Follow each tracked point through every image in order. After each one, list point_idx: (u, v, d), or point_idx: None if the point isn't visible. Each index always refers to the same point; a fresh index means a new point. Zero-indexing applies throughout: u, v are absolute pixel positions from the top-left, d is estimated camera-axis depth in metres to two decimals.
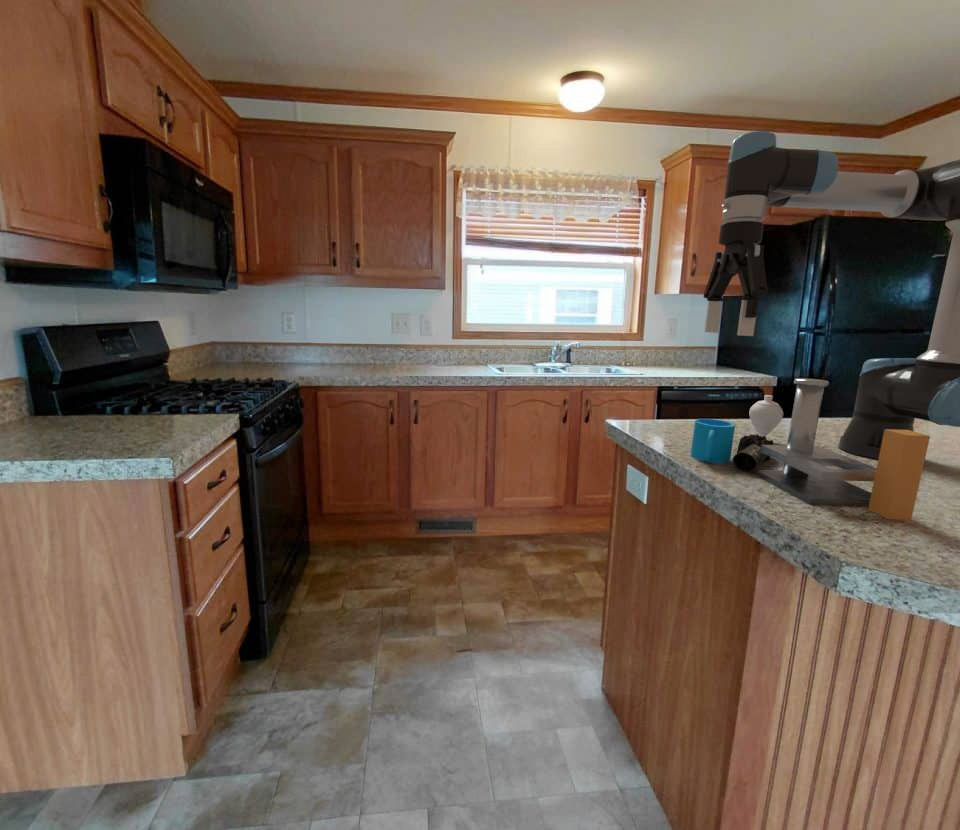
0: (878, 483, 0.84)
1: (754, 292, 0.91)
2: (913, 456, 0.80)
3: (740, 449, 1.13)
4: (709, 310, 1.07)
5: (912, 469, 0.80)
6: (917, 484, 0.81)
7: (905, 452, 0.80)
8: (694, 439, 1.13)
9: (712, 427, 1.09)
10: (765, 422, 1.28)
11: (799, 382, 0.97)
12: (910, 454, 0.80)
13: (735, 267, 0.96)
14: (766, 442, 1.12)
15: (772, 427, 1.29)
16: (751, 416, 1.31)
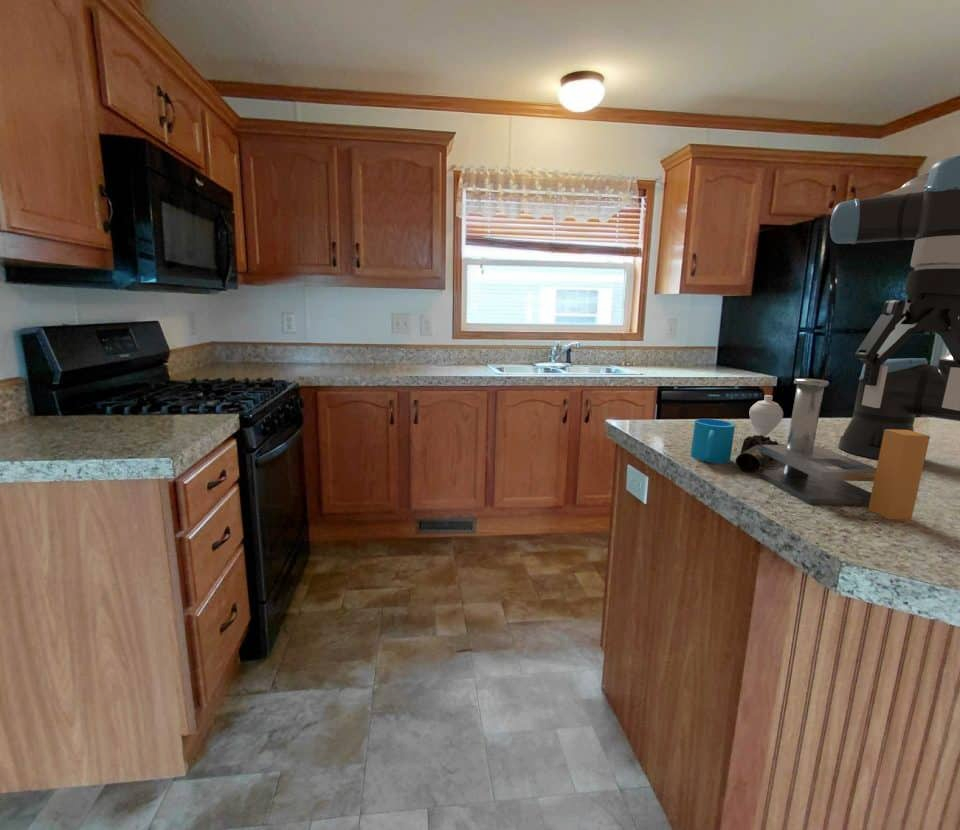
0: (878, 483, 0.84)
1: (854, 355, 0.79)
2: (913, 456, 0.80)
3: (744, 450, 1.13)
4: (949, 379, 0.81)
5: (912, 469, 0.80)
6: (917, 484, 0.81)
7: (905, 452, 0.80)
8: (694, 439, 1.13)
9: (712, 427, 1.09)
10: (765, 422, 1.28)
11: (799, 382, 0.97)
12: (910, 454, 0.80)
13: None
14: (770, 443, 1.12)
15: (772, 427, 1.29)
16: (751, 416, 1.31)
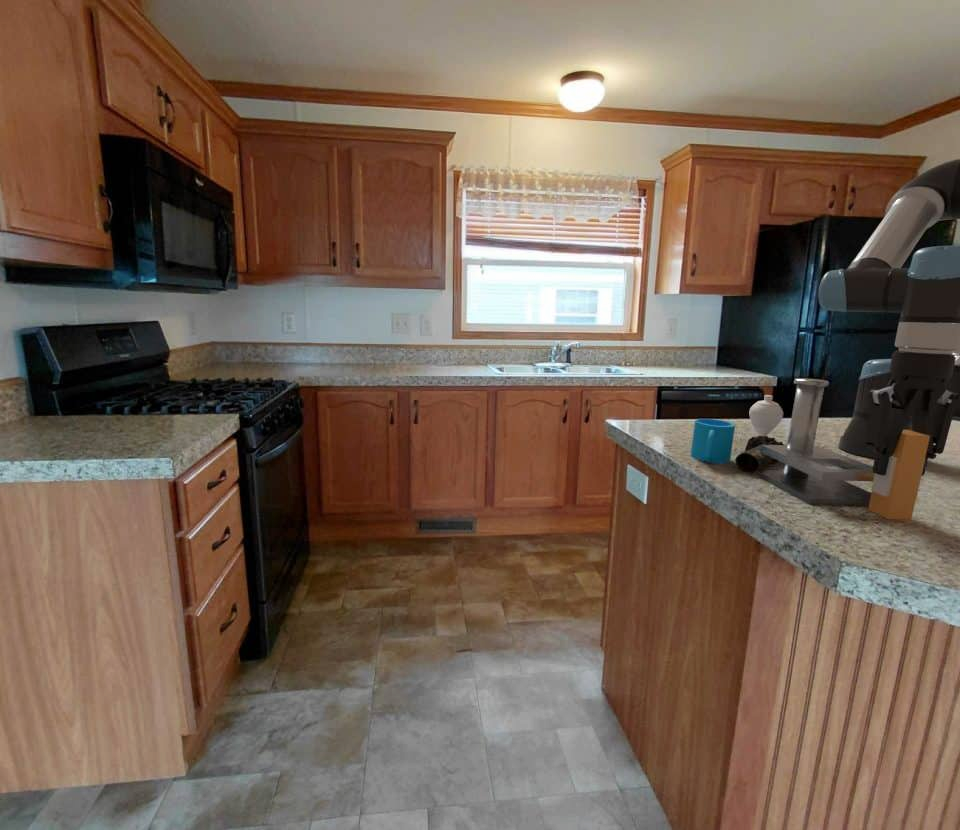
0: None
1: (865, 446, 0.83)
2: (912, 456, 0.80)
3: (747, 450, 1.13)
4: None
5: (912, 469, 0.80)
6: (917, 484, 0.81)
7: (905, 452, 0.80)
8: (694, 439, 1.13)
9: (712, 427, 1.09)
10: (765, 422, 1.28)
11: (799, 382, 0.97)
12: (910, 454, 0.80)
13: None
14: (774, 443, 1.11)
15: (772, 427, 1.29)
16: (751, 416, 1.31)
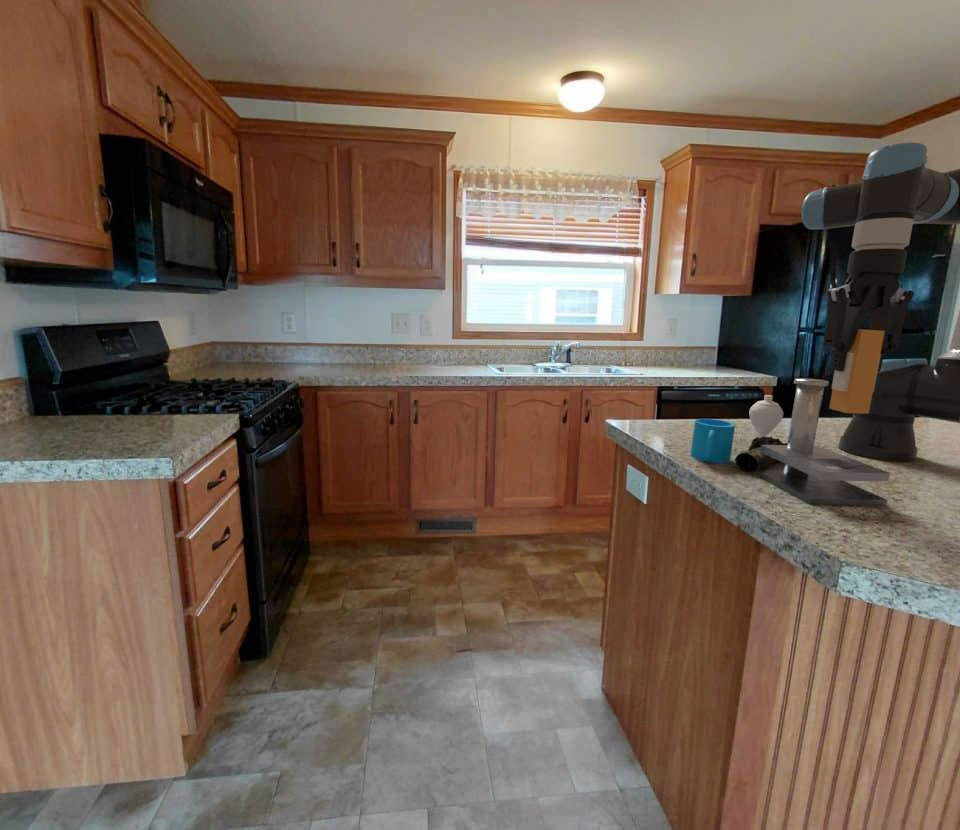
0: None
1: (824, 345, 0.87)
2: (868, 351, 0.84)
3: None
4: None
5: (868, 364, 0.85)
6: (873, 378, 0.86)
7: (861, 347, 0.84)
8: (694, 439, 1.13)
9: (712, 427, 1.09)
10: (765, 422, 1.28)
11: (799, 382, 0.97)
12: (866, 349, 0.84)
13: None
14: (778, 444, 1.10)
15: (772, 427, 1.29)
16: (751, 416, 1.31)
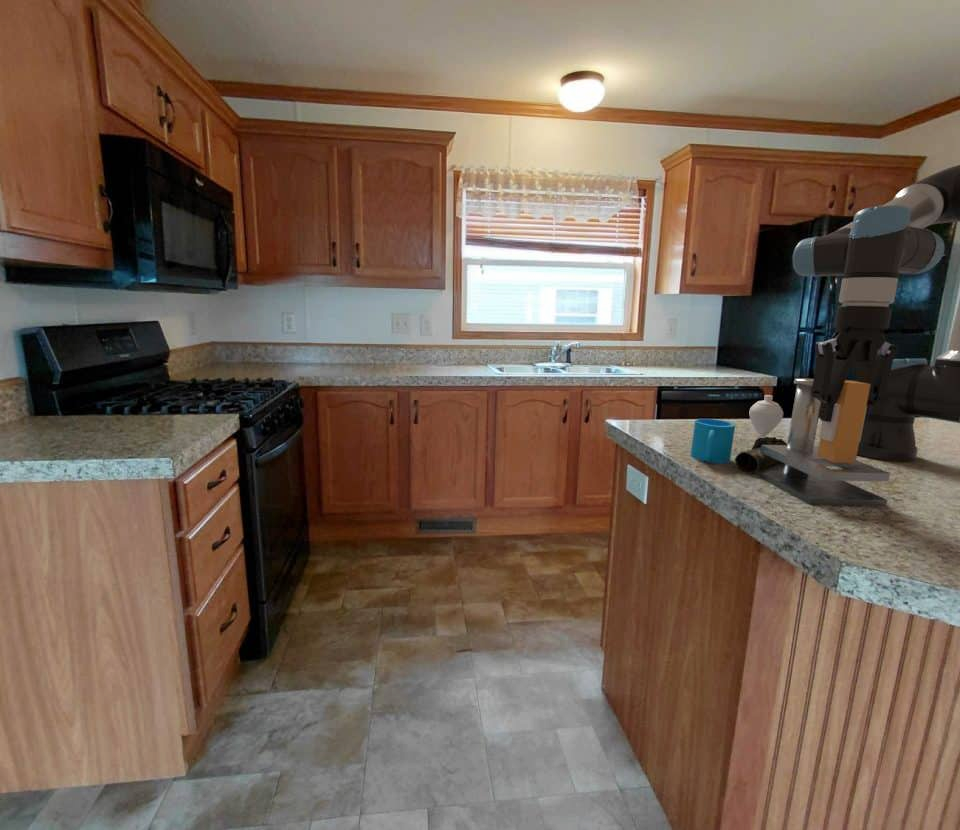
0: None
1: (812, 395, 0.89)
2: (855, 403, 0.87)
3: None
4: None
5: (855, 415, 0.87)
6: (860, 429, 0.88)
7: (847, 399, 0.86)
8: (694, 439, 1.13)
9: (712, 427, 1.09)
10: (765, 422, 1.28)
11: (799, 382, 0.97)
12: (853, 401, 0.87)
13: None
14: None
15: (772, 427, 1.29)
16: (751, 416, 1.31)
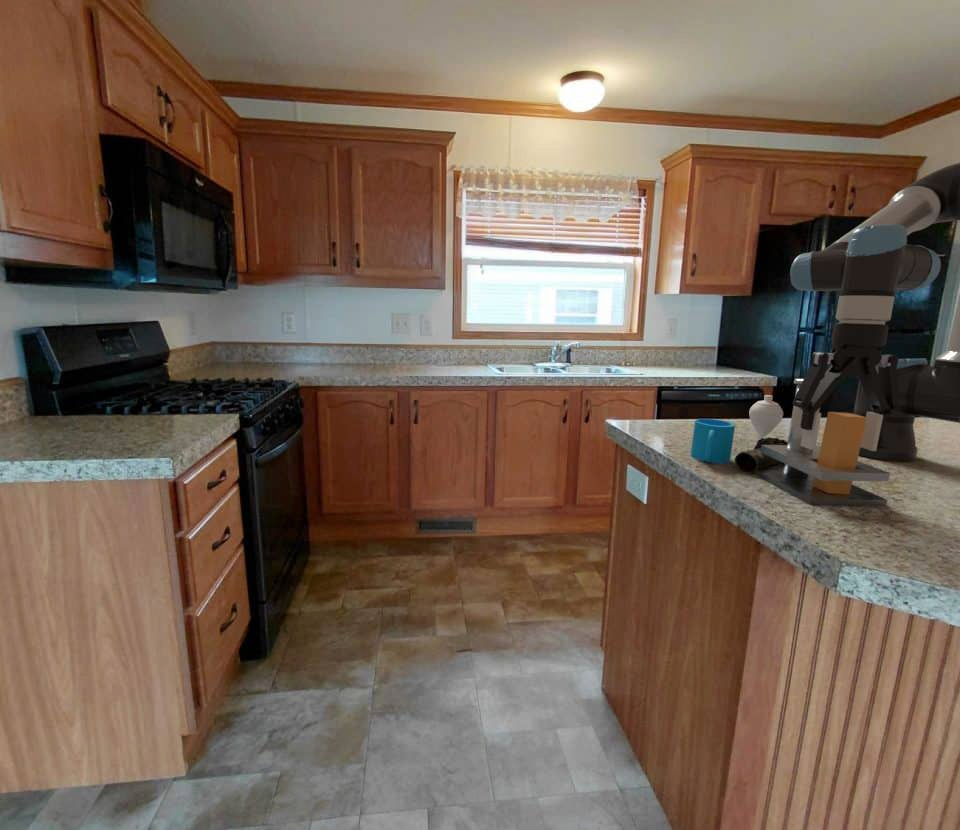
0: (821, 461, 0.92)
1: (793, 403, 0.89)
2: (851, 436, 0.88)
3: None
4: None
5: (850, 448, 0.88)
6: (855, 462, 0.89)
7: (844, 432, 0.88)
8: (694, 439, 1.13)
9: (712, 427, 1.09)
10: (765, 422, 1.28)
11: (799, 382, 0.97)
12: (849, 434, 0.88)
13: None
14: None
15: (772, 427, 1.29)
16: (751, 416, 1.31)
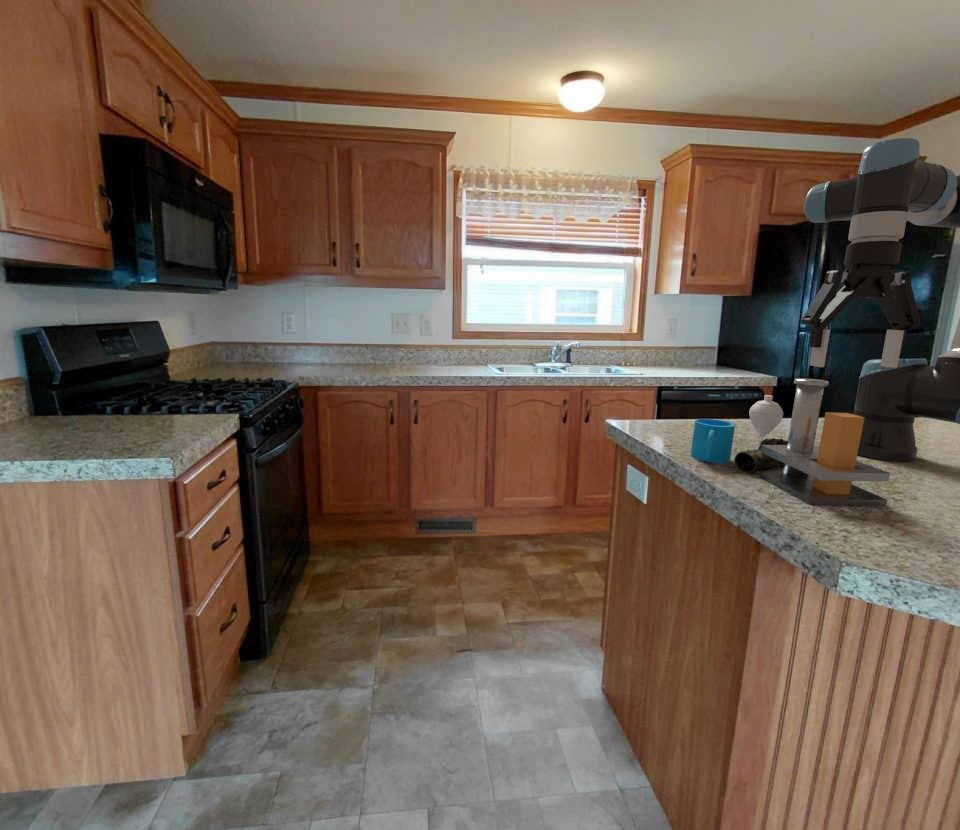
0: (820, 461, 0.92)
1: (801, 321, 0.89)
2: (849, 436, 0.88)
3: None
4: (886, 340, 0.91)
5: (849, 448, 0.88)
6: (854, 462, 0.89)
7: (842, 433, 0.88)
8: (694, 439, 1.13)
9: (712, 427, 1.09)
10: (765, 422, 1.28)
11: (799, 382, 0.97)
12: (847, 434, 0.88)
13: None
14: None
15: (772, 427, 1.29)
16: (751, 416, 1.31)
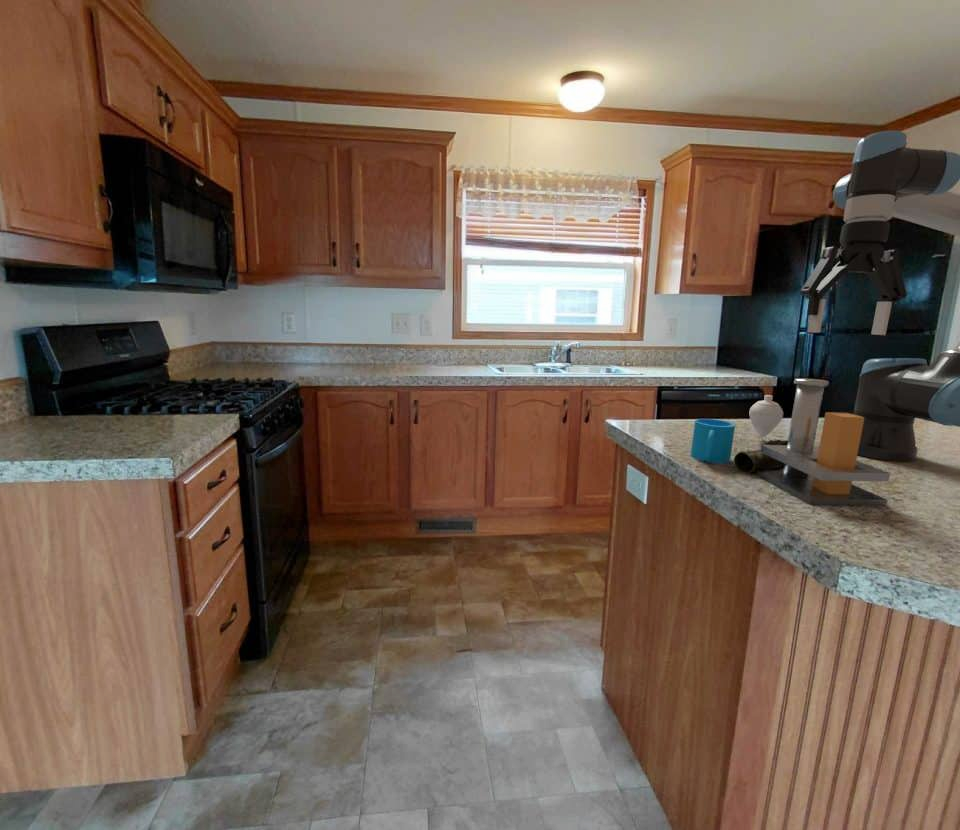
0: (820, 461, 0.92)
1: (800, 292, 1.01)
2: (849, 436, 0.88)
3: None
4: (876, 311, 1.03)
5: (849, 448, 0.88)
6: (854, 462, 0.89)
7: (842, 433, 0.88)
8: (694, 439, 1.13)
9: (712, 427, 1.09)
10: (765, 422, 1.28)
11: (799, 382, 0.97)
12: (847, 434, 0.88)
13: None
14: None
15: (772, 427, 1.29)
16: (751, 416, 1.31)
